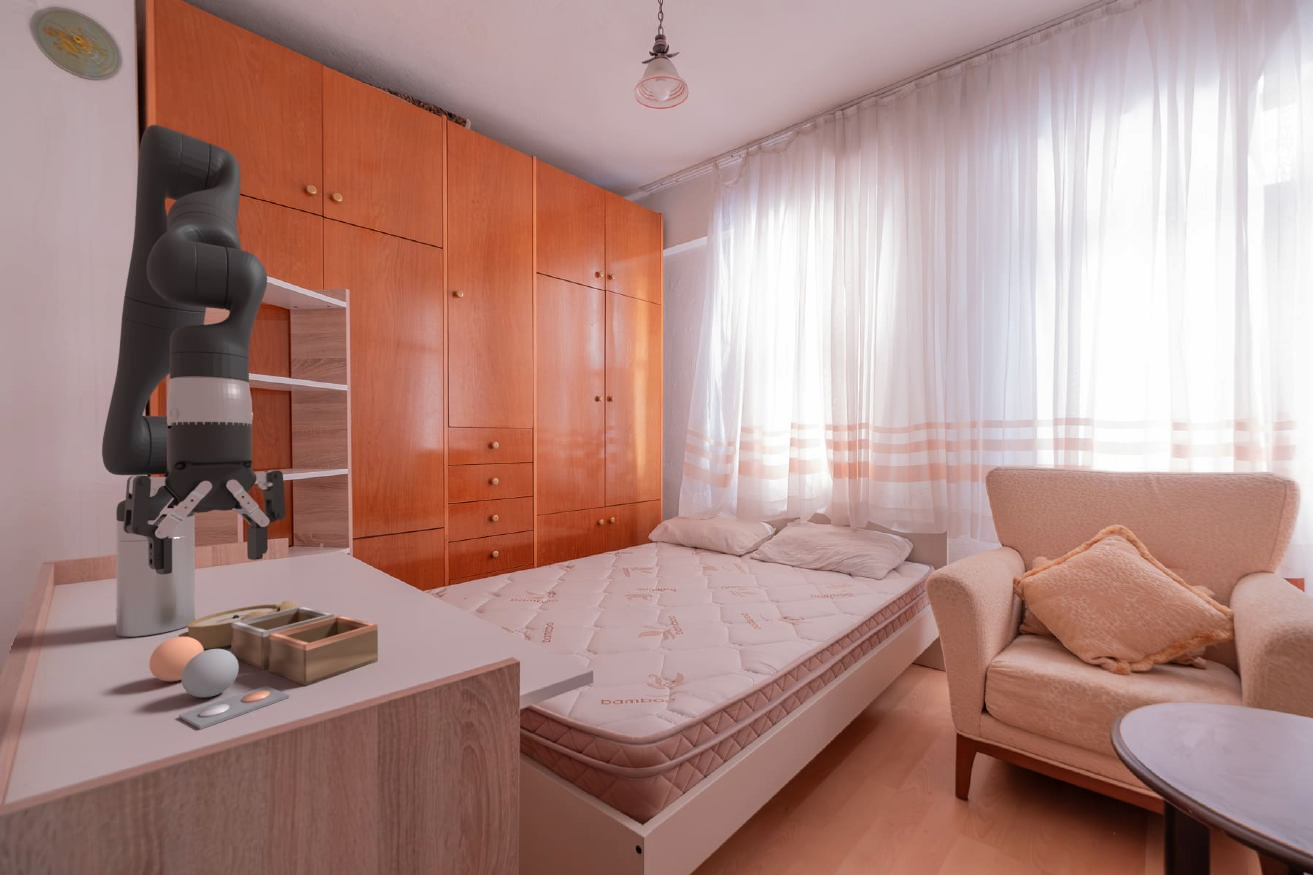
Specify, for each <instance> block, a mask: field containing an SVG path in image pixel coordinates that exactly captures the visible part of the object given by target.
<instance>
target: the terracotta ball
mask: <svg viewBox="0 0 1313 875" xmlns="http://www.w3.org/2000/svg"><path fill="white" fill-rule="evenodd" d="M204 651H205V650H204V649H203V647H202V645H201V644H200V643H199V642H198V641H197V640H195V639H193V638H190V637H189V636H187V637H179V636H177V637H173V638H169V639H167V640H165V641H164V642H162V643H161V644H160V645H158V646H156V648H155V649H154V651H153V652H152V653H151V655H150V658H149V663H148V664H149V670H150V673H151V674H152V675H153V677H155V678H156V679H158V680H160V681H164V682H168V683H170V682H171V683H172V682H179V681H182V680H181V678H182V672H183V670H184V668H185V666H186V665H187V663H188V662H189V661H190V660H191V659H192V658H193V657H195V656H196V655H197V654H199V653H201V652H204Z"/></svg>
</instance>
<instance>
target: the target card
mask: <svg viewBox="0 0 1313 875" xmlns="http://www.w3.org/2000/svg"><path fill="white" fill-rule="evenodd" d="M289 698H290V694H288V693H285V692H283V691H280V690H278V689H275V688H273V687H271V686H268V685H264V686H261V687H258V688H255V689H253V690H249V691H246V692H243V693H239V694H237V695H235V696H231V697H228V698H225V699H221V700H219V701H215V702H213V703H210V704H206V705H204V706H202V707H197V708H195V709H191V710H189V711H185V712H183V713H179V714H178V717H179V719H181V720H183V721H185V722H186V723H189V725H192V726H193V727H195V728H198V729H199V730H201V729H205V728H208V727H210V726H213V725H216V724H219V723H221V722H225V721H227V720H230V719H233V718H235V717H238V716H239V717H240V716H241V715H245V714H248V713H250V712H253V711H256V710H258V709H261V708H264V707H266V706H270V705H272V704H275V703H278V702H280V701H281V702H282V701H284V700H286V699H289Z"/></svg>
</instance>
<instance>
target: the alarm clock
mask: <svg viewBox="0 0 1313 875" xmlns="http://www.w3.org/2000/svg"><path fill="white" fill-rule="evenodd" d="M296 607H297V605H296V604H295V603H294V602H292V600H291V601H290V600H282V601H281V603H280V604H276V603H270V604H269V603H267V604H257V605H251V606H244V607H238V608H234V609H229V610H225V611H221V612H217V613H212V614H209V615H204V616H203V617H200V618H197V619H195V620H194V621H192V622H190V623H188V624H187V625H188V626H187V629H188V631H185V632H182V633H180V634H178V637H190V638H193V639H195V640H197V641H198V642H199V643H200V644H201V645H202V647H203V649H206V650H208V649H216V648H220V647H226V646H231V623H232V622H236V621H240V620H245V619H249V618H253V617H257V616H262V615H266V614H270V613H275V612H279V611H283V610H288V609H292V608H296Z"/></svg>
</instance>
